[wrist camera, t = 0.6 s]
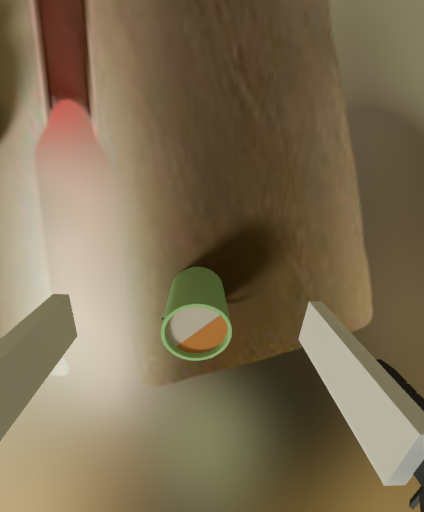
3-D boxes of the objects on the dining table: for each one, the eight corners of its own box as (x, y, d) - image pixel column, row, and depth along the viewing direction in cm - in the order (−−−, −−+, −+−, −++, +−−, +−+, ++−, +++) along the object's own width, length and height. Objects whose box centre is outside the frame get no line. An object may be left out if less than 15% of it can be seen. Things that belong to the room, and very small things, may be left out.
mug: (158, 289, 41) (143, 333, 30) (199, 256, 39) (200, 290, 28) (201, 328, 45) (202, 380, 34) (241, 300, 43) (255, 345, 32)
